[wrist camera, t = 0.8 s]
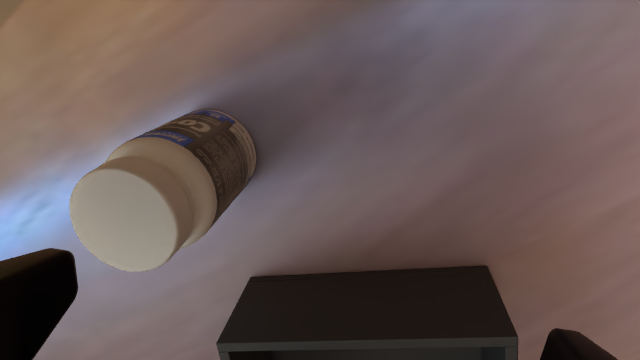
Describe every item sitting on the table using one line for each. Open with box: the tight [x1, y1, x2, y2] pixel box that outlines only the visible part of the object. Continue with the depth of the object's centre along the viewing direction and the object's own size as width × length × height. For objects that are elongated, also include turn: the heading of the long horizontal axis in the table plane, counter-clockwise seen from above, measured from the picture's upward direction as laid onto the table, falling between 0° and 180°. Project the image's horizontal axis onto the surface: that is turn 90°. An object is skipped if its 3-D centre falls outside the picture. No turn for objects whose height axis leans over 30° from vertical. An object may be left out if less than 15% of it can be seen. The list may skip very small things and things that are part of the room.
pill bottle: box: [70, 110, 256, 272], centre depth 18 cm, size 5×5×8 cm
